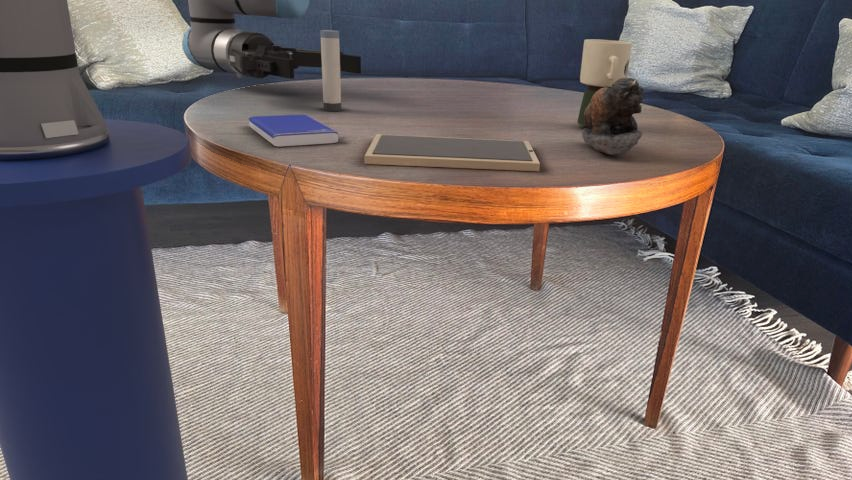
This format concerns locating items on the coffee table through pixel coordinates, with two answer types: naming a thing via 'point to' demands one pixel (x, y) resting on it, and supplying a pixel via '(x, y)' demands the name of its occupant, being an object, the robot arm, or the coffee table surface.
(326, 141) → the blue book
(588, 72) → the character mug
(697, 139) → the coffee table surface
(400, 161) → the tablet
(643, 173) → the coffee table surface
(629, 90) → the bison figurine
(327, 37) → the stylus
